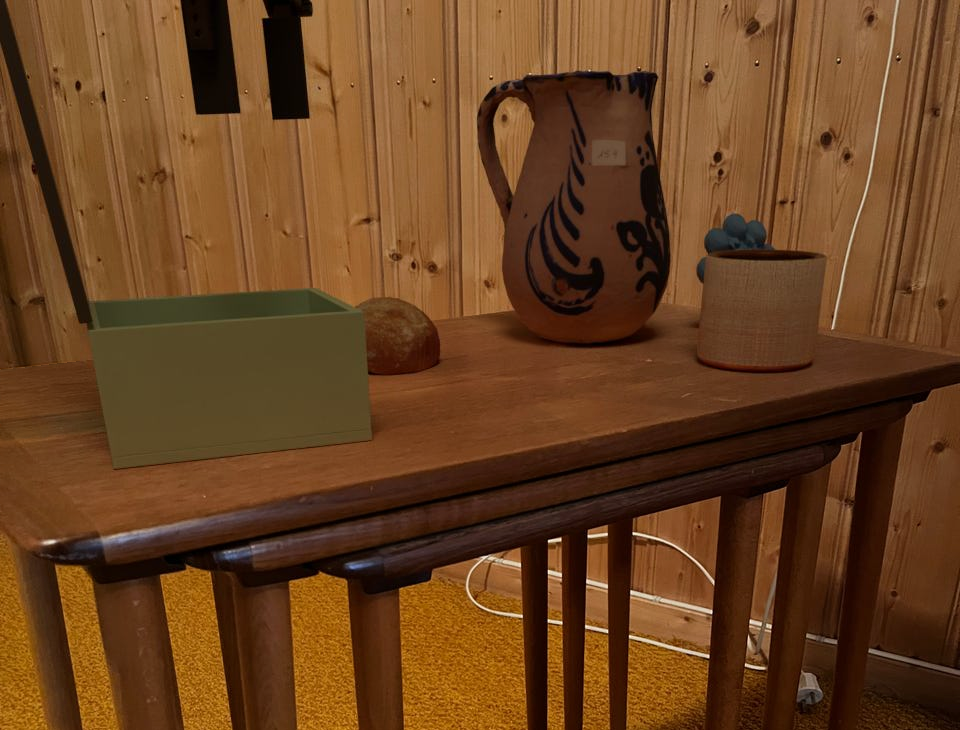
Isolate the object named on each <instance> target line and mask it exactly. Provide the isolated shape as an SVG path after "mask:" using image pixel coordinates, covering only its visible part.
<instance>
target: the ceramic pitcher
mask: <svg viewBox="0 0 960 730" xmlns="http://www.w3.org/2000/svg"><path fill="white" fill-rule="evenodd" d="M658 75H659V74H658V73H657V72H651V71H647V70H641V71H633V72H630V73H627V74H622V75H621V74H613V73H612V72H611V71H609V70H604V71H597V70H596V71H595V70H579V69H578V70H575V71H572V72H570V71H566V72H559V73H550V74H533V75H531V74H526V75H525V76H523V78H515V79H511V80H504V81H502V82H500V83H498V84H496V85H494V86H493V87H491V89H490V90H489V91H488V93H486V95H485V96H484V98H482V101H481V103H480V105H479V108H478V111H477V116H476V125H477V126H476V130H477V135H476V137H477V146H478V149H479V154H480V160H481V163H482V165H483V169H484V171H485V174H486V178H487V181H488V185H489V186H490V189H491V191H492V195H493V197H494V199H495V202H496V204H497V207H498V209H499V212H500V216H501V218H502V219H501V220H502V222H503V228H504V234H503V249H502V255H501V258H502V259H501V261H502V262H501V273H502V280H503V285H504V289H505V292H506V296H507V298H508V301H509V302H510V305H511V307H512V308H513V310H514V312H515V313H516V316H517V317H518V318H519V320H521V322H522V323H523V324H524V325H525V327H526V328H527V329H528V330H530V331H531V332H532V333H533V334H536V335H537V336H538V337H539V338H541V339H545V340H548V341H551V342H558V343H565V344H567V345H569V344H578V345H579V344H580V345H581V344H582V345H585V344H586V345H589V344H595V343H598V344H603V343H606V342H607V343H608V342H613V341H619V340H622V339H625V338H628V337H630V336H632V335H634V334H635V333H636V332H637V331H639V329H641V328H642V326H644V325H645V324H646V323H647V322H648V321H649V319H650V318H651V317H652V316H653V315H654V313H655V312H656V311H657V309H658V307H659V306H660V303H661V301H662V299H663V297H664V294H665V292H666V290H667V288H668V283H669V277H670V273H671V256H672V255H671V238H670V235H671V234H670V228H669V220H668V213H667V208H666V207H667V206H666V203H665V197H664V190H663V186H662V180H661V176H660V170H659V165H658V159H657V157H658V156H657V152H656V146H655V140H654V132H653V131H654V130H653V117H652V116H653V115H652V110H653V102H654V101H653V100H654V95H655V91H656V86H657V84H658V80H659V76H658ZM508 98H512V99H514V98H516V99H518V100H519V101H521V102H523V104H526V106H527V108H528V111H529V113H530V118H531V120H532V122H533V127H532V131H531V135H530V138H529V142H528V145H527V147H526V148H527V149H526V152H525V154H524V159H523V162H522V166H521V171H520V172H519V176H518V179H517V182H516V187H515V190H514V193H513V192H512V189H511V187H510V183H509V181H508V179H507V176H506V173H505V170H504V167H503V165H502V163H501V159H500V155H499V152H498V150H497V148H498V147H497V144H496V142H497V141H496V134H495V126H494V125H495V124H494V121H495V116H496V113H497V111H498V109H499V107H500V104H502V103H503V102H504V101H505V100H506V99H508Z"/></svg>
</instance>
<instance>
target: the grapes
mask: <svg viewBox="0 0 960 730" xmlns="http://www.w3.org/2000/svg"><path fill="white" fill-rule="evenodd" d="M767 238H768V233H767V229H766V227H765V225H764V224H763V223H762V222H760V221H759V220H757V219H752V220H749V221H748V222H747V221H746V219H745V218H744V217H743V216H742V215H741V214H740V213H733V212H732V213H730V214H729V215H727V216H726V217H725V219H724V221H723V222H722V226H721V227H713V228H711V229H709V230H708V231H707V233H706V235H705V236H704V238H703V247H704V249H705V251H706V254H709V253H712V252H718V251H729V250H776V248H775V247H774V246H773V245H771V244H769V243H766V241H767ZM705 261H706V255H705V256H704V257H702V258H701V259H700V260H699V262H698V263H697V265H696V277H697V279H698V280H699V282H700V283H701V284H702V285H703V283H704V272H705Z"/></svg>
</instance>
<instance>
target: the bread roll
mask: <svg viewBox="0 0 960 730" xmlns="http://www.w3.org/2000/svg"><path fill="white" fill-rule="evenodd" d="M354 307H355V308H357V309H359V310H361V311H363V312H364V318H365V334H366V350H367V365H368V372H370V373H372V374H374V375H382V376H383V375H386V376H387V375H388V376H389V375H400V374H407V373H409V374H411V373H416V372H421V371H423V370H427V369H430V368H432V367H434V366H435V365H436V364H437V362H438V360H439V359H440V356H441V339H440V335H439V331H438V328H437V327H436V325H435V324H434V322H433V321H432V320H431V318H430V316H428V315H427V313H425V311H423V310H421V309H420V308H418V307H417V306H416V305H414V304H412V303H410V302H408V301H406V300H403V299H400V298H399V297H392V296H382V297H381V296H379V297H371V298H369V299H366V300H364V301H362V302H360V303H359V304H357V305H355V306H354Z"/></svg>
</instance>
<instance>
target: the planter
mask: <svg viewBox="0 0 960 730" xmlns="http://www.w3.org/2000/svg"><path fill="white" fill-rule="evenodd" d="M705 256H706V261H705V272H704V283H703V284H702V295H701V296H702V297H701V304H700V305H701V306H700V314H699V323H698V333H697V334H698V335H697V343H696V355H697V357H698V358H699V359H700V361H702V362H703V363H704V364H706V365H708V366H711V367H714V368H718V369H723V370H730V371H731V370H732V371H737V372H738V371H740V372H753V373H755V372H757V373H769V372H774V373H775V372H785V371H787V372H788V371H794V370H798V369H802V368H803V367H805V366H807V365H808V364H810V363H812V362H813V361H814V358H815V356H816V349H817V342H818V341H817V340H818V333H819V324H820V317H821V307H822V300H823V299H822V298H823V291H824V284H825V276H826V268H827V262H828V261H827V260H828V256H827V255H826V254H823V253H819V252H815V251H805V250H792V249H775V250H729V251H718V252H712V253H709V254H708V253H706V255H705Z"/></svg>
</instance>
